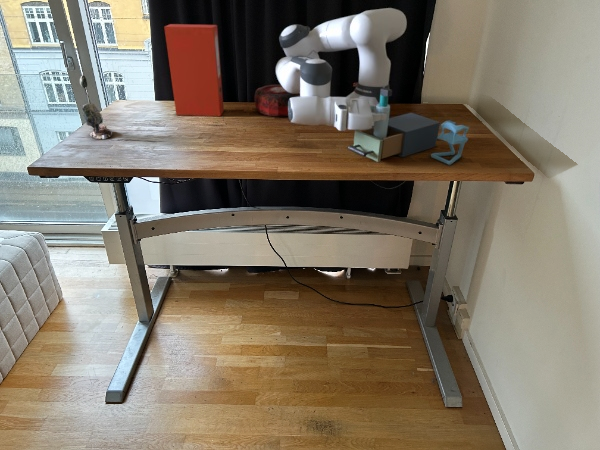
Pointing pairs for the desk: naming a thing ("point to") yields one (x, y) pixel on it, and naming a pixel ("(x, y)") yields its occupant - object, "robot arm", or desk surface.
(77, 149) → the desk surface
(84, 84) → the plant with pod
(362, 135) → the drawer
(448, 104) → the desk surface
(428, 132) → the cabinet
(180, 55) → the file binder
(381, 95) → the spray bottle
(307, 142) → the desk surface
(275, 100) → the red flat cylinder
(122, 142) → the desk surface
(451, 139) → the chair
